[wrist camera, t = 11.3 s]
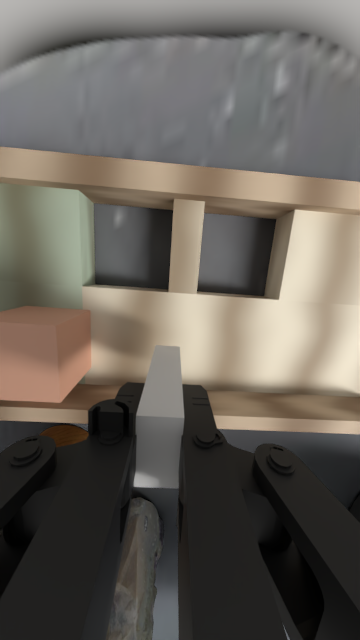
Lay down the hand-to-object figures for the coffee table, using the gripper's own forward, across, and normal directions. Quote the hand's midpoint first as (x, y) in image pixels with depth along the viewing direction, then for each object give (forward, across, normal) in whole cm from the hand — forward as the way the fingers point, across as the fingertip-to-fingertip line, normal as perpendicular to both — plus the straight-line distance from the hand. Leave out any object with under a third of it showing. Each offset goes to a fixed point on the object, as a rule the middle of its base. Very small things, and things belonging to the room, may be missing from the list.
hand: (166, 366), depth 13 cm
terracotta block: (+3, +8, -1) cm, 8 cm away
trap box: (+5, -2, -4) cm, 7 cm away
